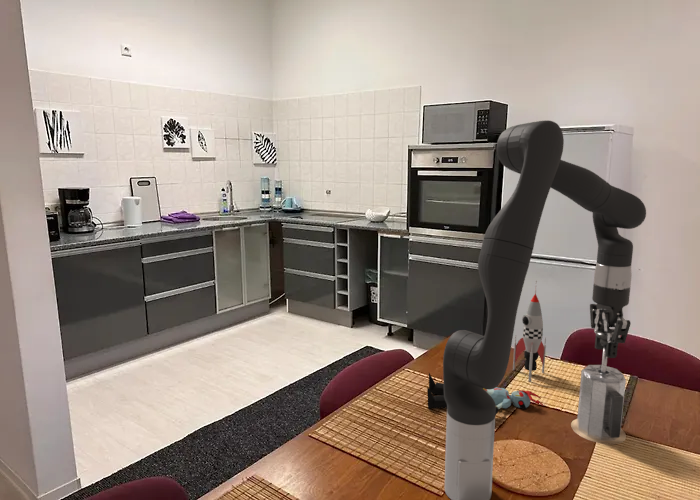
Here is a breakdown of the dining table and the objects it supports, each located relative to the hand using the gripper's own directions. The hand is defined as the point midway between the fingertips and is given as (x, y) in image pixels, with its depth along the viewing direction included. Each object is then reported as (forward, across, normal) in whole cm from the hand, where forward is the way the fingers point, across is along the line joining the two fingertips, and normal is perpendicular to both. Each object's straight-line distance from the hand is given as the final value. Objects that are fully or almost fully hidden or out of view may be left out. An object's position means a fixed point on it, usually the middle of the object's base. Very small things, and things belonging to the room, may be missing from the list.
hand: (605, 352), depth 116 cm
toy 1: (+21, -15, -24) cm, 35 cm away
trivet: (+21, 0, 0) cm, 21 cm away
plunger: (+13, 0, 0) cm, 13 cm away
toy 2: (+21, -33, -4) cm, 39 cm away
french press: (+20, +1, 0) cm, 20 cm away
